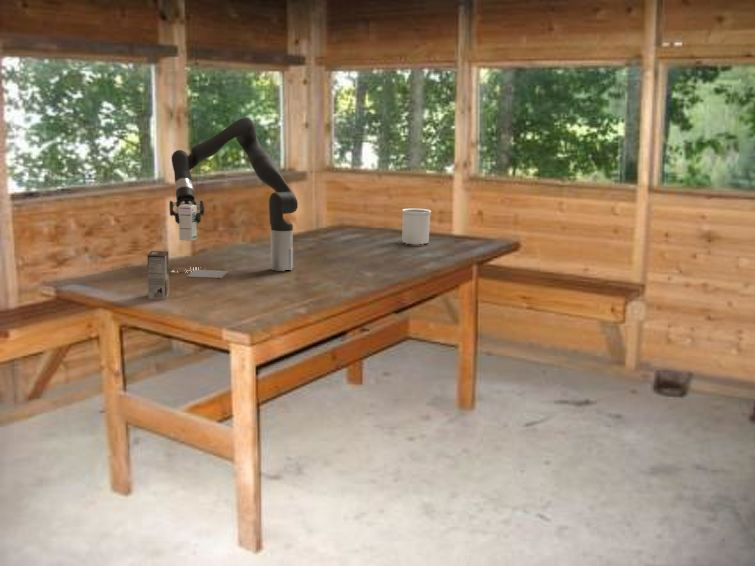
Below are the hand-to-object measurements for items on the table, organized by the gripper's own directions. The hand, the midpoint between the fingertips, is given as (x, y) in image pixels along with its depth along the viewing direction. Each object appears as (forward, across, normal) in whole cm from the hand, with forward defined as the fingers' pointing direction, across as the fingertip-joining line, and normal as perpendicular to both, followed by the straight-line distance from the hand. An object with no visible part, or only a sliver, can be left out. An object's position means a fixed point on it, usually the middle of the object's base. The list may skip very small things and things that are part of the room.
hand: (188, 222), depth 361 cm
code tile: (+14, 0, -15) cm, 20 cm away
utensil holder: (-24, -123, -53) cm, 136 cm away
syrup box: (+4, 0, -6) cm, 8 cm away
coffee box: (+48, +16, +19) cm, 54 cm away
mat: (+21, -6, -7) cm, 24 cm away
